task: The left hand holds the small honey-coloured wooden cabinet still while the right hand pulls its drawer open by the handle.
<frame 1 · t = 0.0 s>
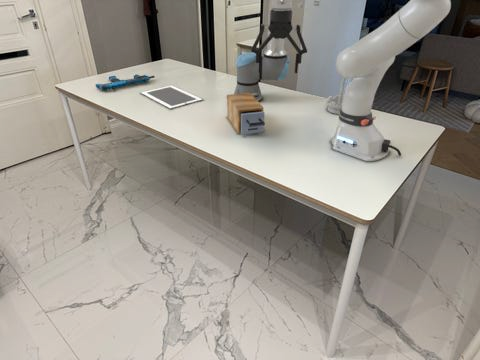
left hand: (277, 72, 128), 28 cm above the table, tool pointing down, fingers open, 13 cm apart
right hand: (308, 6, 134), 48 cm above the table, tool pointing down, fingers open, 8 cm apart
tablet: (171, 96, 187), on the table
cabinet: (244, 123, 156), on the table
flag stand: (338, 110, 170), on the table
submachine gun: (124, 83, 208), on the table
drawer: (248, 117, 148), point 5 cm above the table, slide at 1.9 cm
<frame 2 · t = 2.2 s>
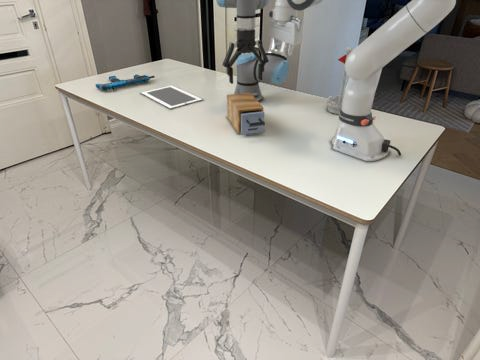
left hand: (245, 81, 148), 19 cm above the table, tool pointing down, fingers open, 13 cm apart
right hand: (283, 52, 135), 32 cm above the table, tool pointing down, fingers open, 8 cm apart
nothing on the table moved.
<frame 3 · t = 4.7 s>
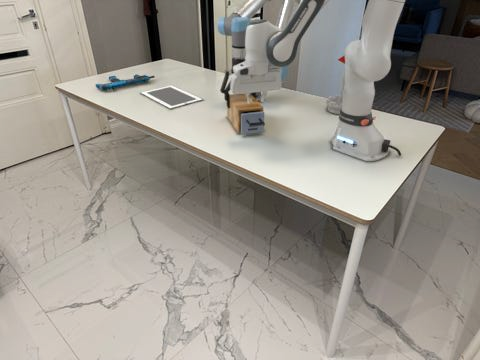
left hand: (240, 105, 158), 6 cm above the table, tool pointing down, fingers closed on cabinet, 11 cm apart
right hand: (255, 102, 135), 16 cm above the table, tool pointing down, fingers open, 4 cm apart
cabinet: (244, 123, 156), on the table, touching left hand
everything else where it was.
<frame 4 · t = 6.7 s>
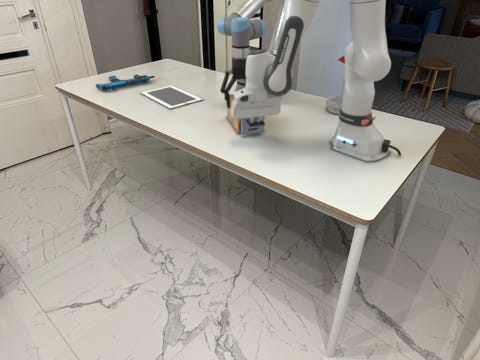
left hand: (240, 105, 158), 6 cm above the table, tool pointing down, fingers closed on cabinet, 11 cm apart
right hand: (255, 126, 140), 6 cm above the table, tool pointing down, fingers closed, pressing on drawer
cabinet: (244, 123, 156), on the table, touching left hand
drawer: (248, 118, 148), point 6 cm above the table, slide at 1.9 cm, touching right hand
everything else where it was.
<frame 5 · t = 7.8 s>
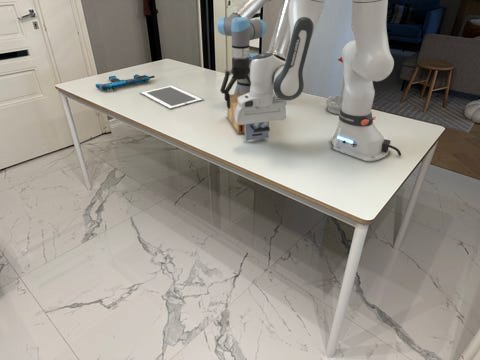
left hand: (240, 106, 158), 6 cm above the table, tool pointing down, fingers closed on cabinet, 11 cm apart
right hand: (260, 131, 136), 6 cm above the table, tool pointing down, fingers closed, pressing on drawer
cabinet: (244, 123, 156), on the table, touching left hand
drawer: (252, 123, 143), point 6 cm above the table, slide at 7.6 cm, touching right hand
everything else where it was.
when the left hand's fingers open (6 cm above the table, at t = 9.9 s): cabinet stays where it is, on the table.
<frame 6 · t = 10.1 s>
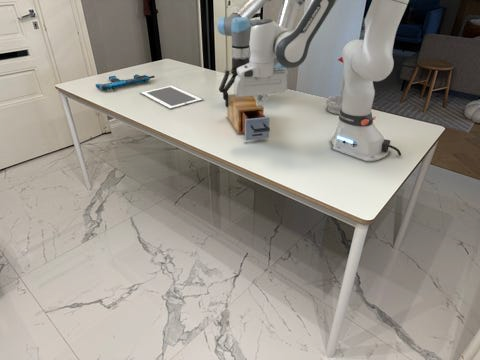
left hand: (240, 105, 158), 7 cm above the table, tool pointing down, fingers open, 12 cm apart
right hand: (260, 105, 130), 17 cm above the table, tool pointing down, fingers closed
cabinet: (244, 123, 156), on the table
drawer: (252, 123, 143), point 5 cm above the table, slide at 7.7 cm
everything else where it was.
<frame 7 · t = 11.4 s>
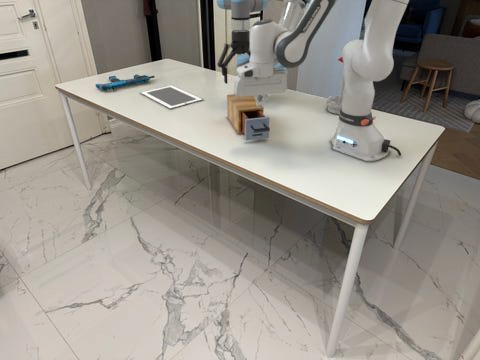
left hand: (240, 81, 152), 18 cm above the table, tool pointing down, fingers open, 13 cm apart
right hand: (260, 105, 130), 17 cm above the table, tool pointing down, fingers closed
nothing on the table moved.
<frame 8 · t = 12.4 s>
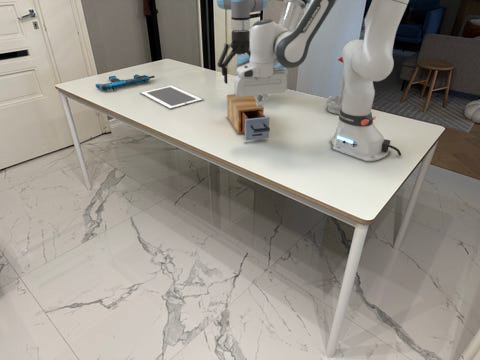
left hand: (240, 81, 152), 18 cm above the table, tool pointing down, fingers open, 13 cm apart
right hand: (260, 105, 130), 17 cm above the table, tool pointing down, fingers closed
nothing on the table moved.
at the end: drawer slide at 7.7 cm; cabinet tilted 0°; cabinet never tilted more than 1° during the clip; cabinet moved 0.1 cm from its start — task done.
